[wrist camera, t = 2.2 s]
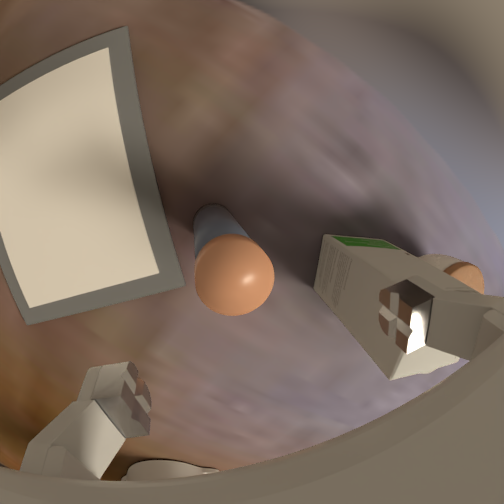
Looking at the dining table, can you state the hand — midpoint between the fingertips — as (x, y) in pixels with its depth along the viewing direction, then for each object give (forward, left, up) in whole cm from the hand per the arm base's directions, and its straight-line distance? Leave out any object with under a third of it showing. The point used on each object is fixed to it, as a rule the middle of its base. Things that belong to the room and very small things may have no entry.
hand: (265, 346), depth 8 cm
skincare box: (-8, -13, -19) cm, 25 cm away
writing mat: (+8, +14, -19) cm, 25 cm away
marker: (0, 0, -19) cm, 19 cm away
